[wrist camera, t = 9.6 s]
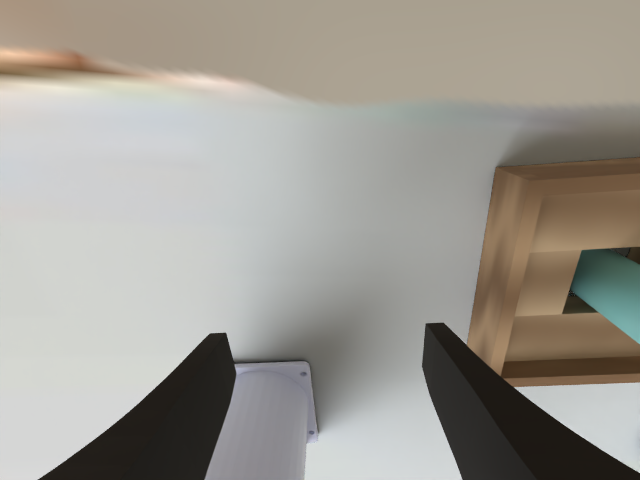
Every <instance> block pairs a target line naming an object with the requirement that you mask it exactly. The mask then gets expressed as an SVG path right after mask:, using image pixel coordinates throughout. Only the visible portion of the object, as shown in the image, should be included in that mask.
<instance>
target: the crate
mask: <svg viewBox="0 0 640 480" xmlns="http://www.w3.org/2000/svg"><path fill="white" fill-rule="evenodd" d="M624 247H631V249H630V251H629V254H628V256H627V258H628V259H630V260H632V261H634V262H636V263H638V264H640V157H637V158H623V159H608V160H594V161H580V162H565V163H551V164H537V165H523V166H508V167H496V169H495V175H494V181H493V187H492V193H491V200H490V206H489V212H488V218H487V224H486V231H485V237H484V243H483V249H482V255H481V261H480V268H479V274H478V280H477V286H476V292H475V299H474V305H473V311H472V317H471V323H470V329H469V336H468V342H467V346H468V347H469V348H470V349H471V350H472V351H473V352H474V353H475V354H476V355H477V356H478V357H480V358H481V359H482V360H483V361H484V362H485V363H486V364H487V365H488V366H489V367H491V368H492V369H493V370H494V371H495V372H496V373H497V374H498V375H500V376H501V377H502V378H503V379H504V380H505V381H507V382H508V383H509V384H510V385H511V386H513V387H525V386H552V385H580V384H607V383H635V382H640V344H639V343H637V342H636V341H635V340H633V339H632V338H631V337H630V336H628V335H627V334H626V333H625V332H623V331H622V330H621V329H619V328H618V327H617V326H616V325H614V324H613V323H612V322H610V321H609V320H608V319H607V318H605V317H604V316H603V315H601V314H600V313H599V312H598V311H596V310H595V309H594V308H592V307H591V306H590V305H589V304H587V303H586V302H585V301H583V300H582V299H581V298H580V297H578V296H568V292H569V289H570V286H571V283H572V280H573V276H574V273H575V270H576V267H577V264H578V260H579V257H580V254H581V251H582V250H588V249H606V248H624ZM567 296H568V297H567Z"/></svg>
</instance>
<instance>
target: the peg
mask: <svg viewBox="0 0 640 480" xmlns="http://www.w3.org/2000/svg"><path fill="white" fill-rule="evenodd" d="M569 290H571V291H572V292H573V293H574V294H576V295H577V296H578V297H580V298H581V299H582V300H583V301H585V302H586V303H587V304H589V305H590V306H591V307H592V308H594V309H595V310H596V311H598V312H599V313H600V314H601V315H603V316H604V317H605V318H607V319H608V320H609V321H610V322H612V323H613V324H614V325H616V326H617V327H618V328H619V329H621V330H622V331H623V332H625V333H626V334H627V335H628V336H630V337H631V338H632V339H633V340H635V341H636V342H637V343H639V344H640V264H638V263H636V262H634V261H632V260H630V259H628V258H626V257H624V256H622V255H621V254H619V253H617V252H615V251H613V250H611V249H609V248H606V249H588V250H582V251H581V254H580V257H579V260H578V264H577V267H576V270H575V273H574V276H573V280H572V283H571V286H570V289H569Z"/></svg>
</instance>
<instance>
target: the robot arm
mask: <svg viewBox="0 0 640 480" xmlns="http://www.w3.org/2000/svg"><path fill="white" fill-rule="evenodd" d="M422 368H423V372H424V375H425V379H426V383H427V387H428V390H429V394H430V397H431V399H432V402H433V405H434V407H435V410H436V412H437V415H438V417H439V420H440V422H441V425H442V427H443V430H444V432H445V435H446V437H447V440H448V443H449V445H450V448H451V450H452V453H453V455H454V458H455V460H456V463H457V465H458V468H459V471H460V474H461V477H462V479H463V480H640V473H638V472H637V471H635V470H633V469H632V468H630V467H628V466H627V465H625V464H623V463H622V462H620V461H618V460H617V459H615V458H613V457H612V456H610V455H609V454H607V453H605V452H604V451H602V450H601V449H599V448H598V447H596V446H595V445H593V444H591V443H590V442H588V441H587V440H585V439H584V438H582V437H581V436H579V435H578V434H576V433H575V432H573V431H572V430H570V429H569V428H567V427H566V426H564V425H563V424H561V423H560V422H559V421H557V420H556V419H554V418H553V417H552V416H550V415H549V414H548V413H546V412H545V411H544V410H542V409H541V408H539V407H538V406H537V405H535V404H534V403H533V402H531V401H530V400H529V399H528V398H526V397H525V396H524V395H522V394H521V393H520V392H519V391H517V390H516V389H515V388H514V387H513V386H511V385H510V384H509V383H508V382H507V381H505V380H504V379H503V378H502V377H501V376H500V375H498V374H497V373H496V372H495V371H494V370H493V369H492V368H491V367H489V366H488V365H487V364H486V363H485V362H484V361H483V360H482V359H481V358H480V357H478V356H477V355H476V354H475V353H474V352H473V351H472V350H471V349H470V348H469V347H468V346H467V345H466V344H465V343H464V342H463V341H462V340H461V339H460V338H459V337H458V336H457V335H456V334H455V333H454V332H453V331H452V330H450V329H449V328H448V327H447V326H446V325H445V324H444V323H426V327H425V338H424V350H423V362H422ZM303 372H305V373H303ZM317 441H318V431H317V423H316V415H315V406H314V398H313V390H312V382H311V373H310V366H309V364H308V363H307V362H305V361H297V362H273V363H249V364H234V361H233V358H232V354H231V350H230V346H229V342H228V338H227V334H226V333H211V334H209V335H208V336H207V337H206V338H205V339H204V340H203V341H202V342H201V343H200V344H199V345H198V346H197V347H196V348H195V349H194V350H193V351H192V352H191V353H190V354H189V355H188V356H187V357H186V358H185V359H184V360H183V362H182V363H181V364H180V365H179V366H178V367H177V368H176V369H175V370H174V371H173V372H172V373H171V374H170V375H169V376H168V377H167V378H166V379H164V380H163V381H162V382H161V383H160V384H159V385H158V386H157V387H156V388H155V389H154V390H153V391H152V392H150V393H149V394H148V395H147V396H146V397H145V398H144V399H143V400H142V401H141V402H140V403H139V404H137V405H136V406H135V407H134V408H133V409H132V410H131V411H129V412H128V413H127V414H126V415H125V416H124V417H122V418H121V419H120V420H119V421H117V422H116V423H115V424H114V425H112V426H111V427H110V428H109V429H107V430H106V431H105V432H104V433H102V434H101V435H100V436H99V437H97V438H96V439H95V440H93V441H92V442H90V443H89V444H88V445H86V446H85V447H84V448H82V449H81V450H80V451H78V452H77V453H75V454H74V455H73V456H71V457H70V458H69V459H67V460H66V461H65V462H63V463H62V464H60V465H59V466H57V467H56V468H55V469H53V470H52V471H50V472H49V473H47V474H46V475H44V476H43V477H41V478H40V479H38V480H304V478H305V461H306V444H307V443H315V442H317Z"/></svg>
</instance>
